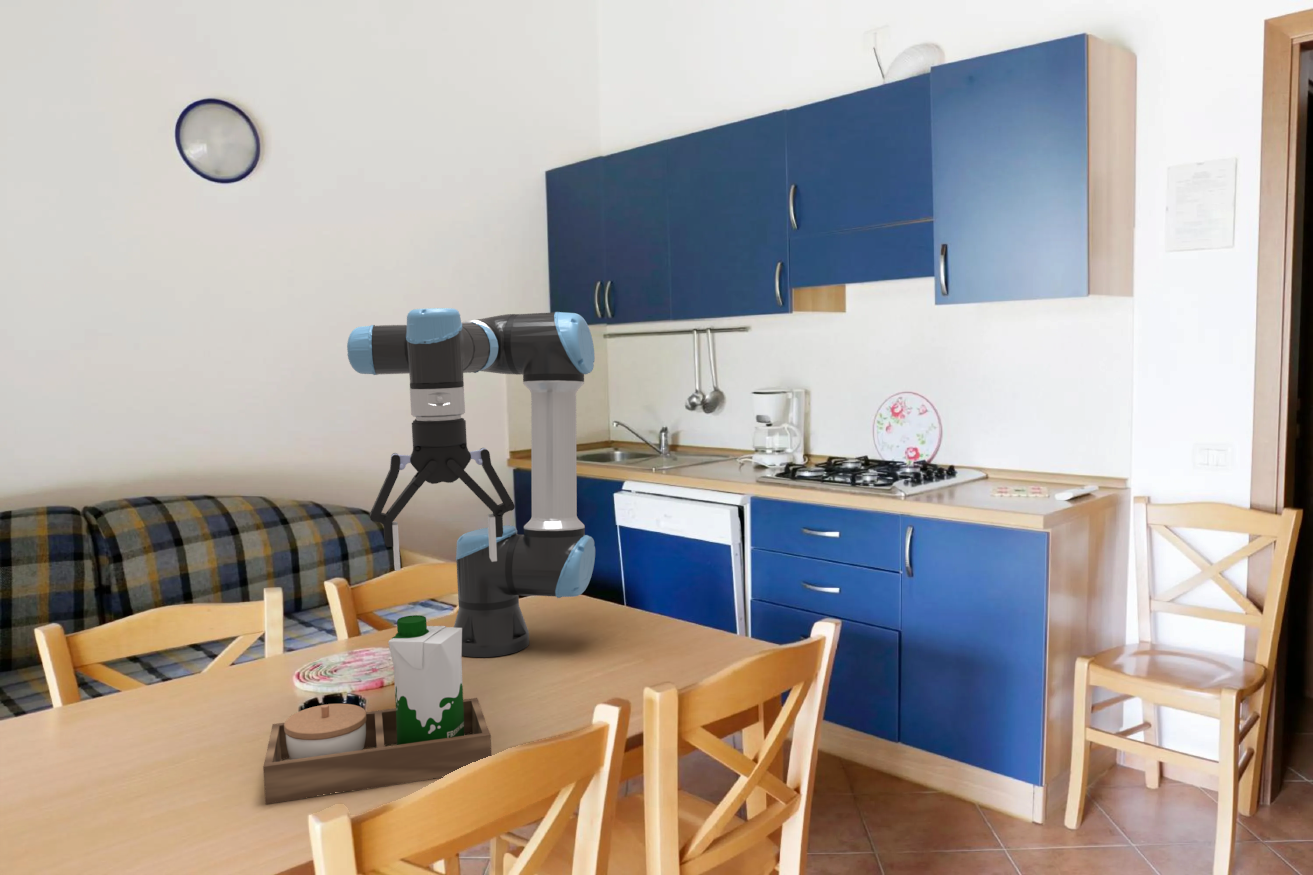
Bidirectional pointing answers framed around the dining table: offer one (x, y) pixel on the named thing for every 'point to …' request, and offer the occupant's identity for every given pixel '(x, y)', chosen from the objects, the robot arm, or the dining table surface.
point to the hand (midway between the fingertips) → (446, 564)
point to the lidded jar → (325, 730)
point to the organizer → (373, 758)
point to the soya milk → (427, 680)
